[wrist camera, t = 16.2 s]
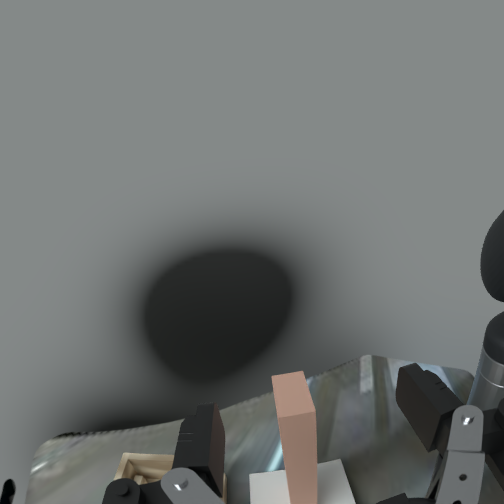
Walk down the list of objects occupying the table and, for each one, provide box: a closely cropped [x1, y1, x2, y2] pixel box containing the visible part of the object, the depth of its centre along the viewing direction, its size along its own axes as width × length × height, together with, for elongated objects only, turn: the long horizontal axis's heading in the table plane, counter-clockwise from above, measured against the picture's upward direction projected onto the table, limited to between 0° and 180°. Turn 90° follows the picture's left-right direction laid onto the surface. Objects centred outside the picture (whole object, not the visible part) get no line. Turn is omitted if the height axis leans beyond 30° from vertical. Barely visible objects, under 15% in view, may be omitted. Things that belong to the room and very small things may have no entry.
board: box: [272, 371, 317, 504], centre depth 27 cm, size 6×3×20 cm, turn 2°
